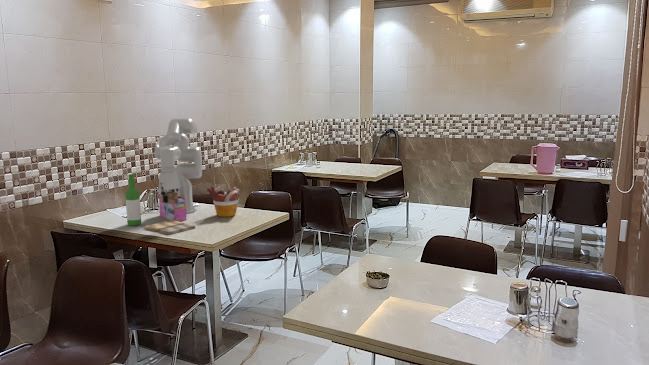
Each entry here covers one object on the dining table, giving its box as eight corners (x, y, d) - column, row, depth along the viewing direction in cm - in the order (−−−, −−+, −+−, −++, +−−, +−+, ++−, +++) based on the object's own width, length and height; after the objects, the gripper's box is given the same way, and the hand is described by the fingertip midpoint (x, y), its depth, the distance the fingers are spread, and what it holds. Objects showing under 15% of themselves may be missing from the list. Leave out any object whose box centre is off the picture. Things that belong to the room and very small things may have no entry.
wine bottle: (125, 224, 300) (122, 174, 295) (139, 222, 304) (135, 173, 299) (129, 226, 294) (125, 176, 289) (143, 224, 298) (139, 174, 293)
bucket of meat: (233, 210, 334) (232, 181, 330) (245, 215, 321) (244, 184, 317) (205, 215, 322) (204, 184, 319) (216, 220, 309) (215, 188, 306)
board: (185, 225, 296) (185, 223, 295) (195, 228, 290) (195, 225, 290) (159, 232, 281) (158, 229, 281) (168, 234, 276) (168, 232, 276)
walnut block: (169, 201, 291) (168, 190, 290) (178, 202, 286) (177, 192, 285) (162, 202, 287) (161, 192, 286) (170, 204, 282) (170, 193, 281)
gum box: (158, 215, 323) (157, 194, 320) (170, 213, 328) (168, 192, 326) (175, 222, 305) (173, 200, 303) (187, 219, 310) (186, 198, 308)
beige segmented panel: (171, 222, 303) (171, 219, 303) (184, 225, 296) (184, 222, 296) (145, 228, 289) (145, 225, 289) (157, 231, 282) (157, 229, 282)
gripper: (176, 167, 292) (178, 198, 295) (150, 171, 279) (152, 203, 282) (184, 168, 288) (186, 200, 291) (159, 172, 274) (161, 205, 277)
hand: (169, 201), depth 286 cm, fingers closed on walnut block, 5 cm apart
